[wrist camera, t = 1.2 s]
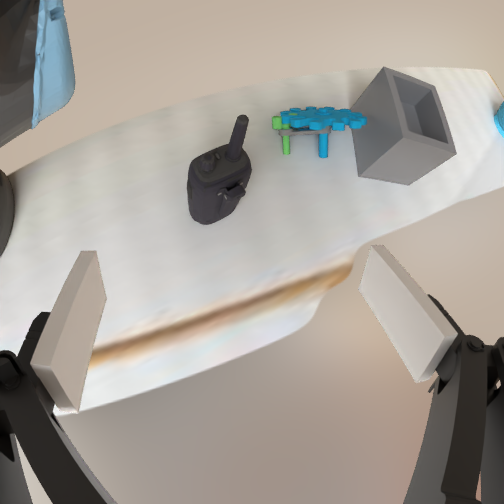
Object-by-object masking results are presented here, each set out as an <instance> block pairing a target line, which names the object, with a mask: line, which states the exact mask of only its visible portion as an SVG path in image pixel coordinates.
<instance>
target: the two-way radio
mask: <svg viewBox="0 0 504 504" xmlns="http://www.w3.org/2000/svg"><path fill="white" fill-rule="evenodd" d="M248 122H249V119H248V117H247V116H246V115H240V116H238V117H237V120H236V123H235V126H234V129H233V132H232V135H231V139H230V142H229V144H226V145H223V146H220V147H218V148H215V149H213V150H211V151H208V152H206V153H204V154H202V155H200V156H198V157H197V158H195V159H194V160H192V162H191V164H190V167H189V171H188V181H187V193H188V204H189V211H190V214H191V216H192V218H193V219H194V220H195V221H197V222H199V223H201V224H204V225H207V224H212V223H214V222H216V221H219V220H221V219H223V218H224V217H226V216H228V215H229V214H231V213H232V212H233V211H234V209H235V207H236V205H237V204H238V202H239V200H240V198H241V197H243V196H244V195H245V193H246V191H245V188H246V186H247V183H248V181H249V178H250V175H251V171H252V169H251V163H250V159H249V157H248V155H247V153H246V152H245V151H244V150H243V148H242V145H243V142H244V138H245V134H246V130H247V126H248Z"/></svg>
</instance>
